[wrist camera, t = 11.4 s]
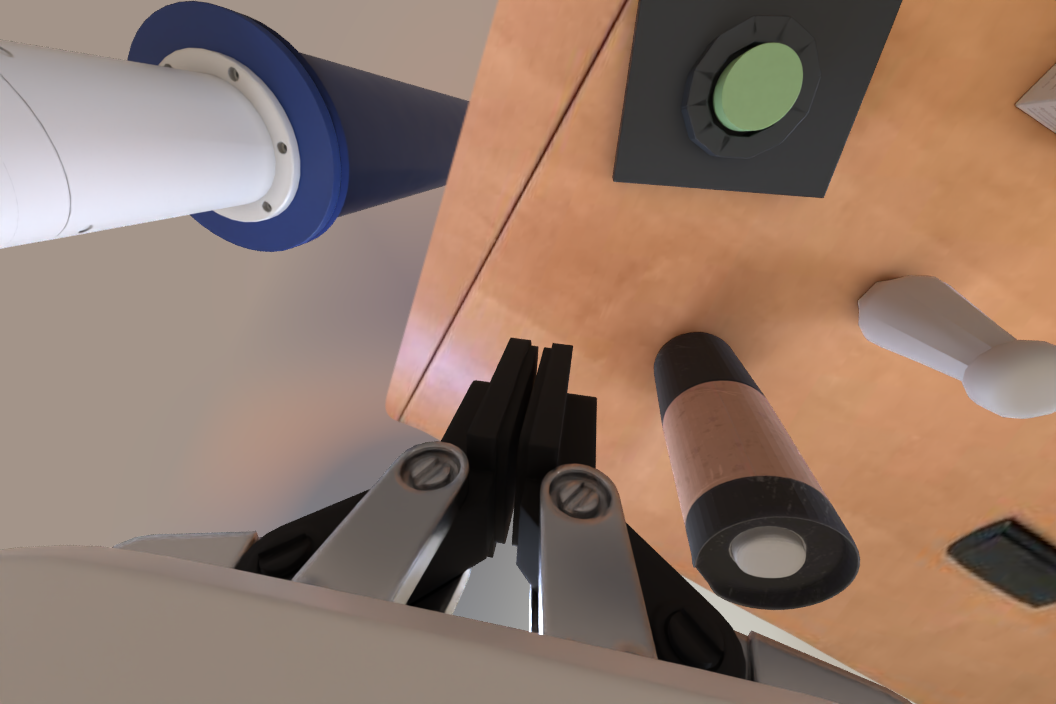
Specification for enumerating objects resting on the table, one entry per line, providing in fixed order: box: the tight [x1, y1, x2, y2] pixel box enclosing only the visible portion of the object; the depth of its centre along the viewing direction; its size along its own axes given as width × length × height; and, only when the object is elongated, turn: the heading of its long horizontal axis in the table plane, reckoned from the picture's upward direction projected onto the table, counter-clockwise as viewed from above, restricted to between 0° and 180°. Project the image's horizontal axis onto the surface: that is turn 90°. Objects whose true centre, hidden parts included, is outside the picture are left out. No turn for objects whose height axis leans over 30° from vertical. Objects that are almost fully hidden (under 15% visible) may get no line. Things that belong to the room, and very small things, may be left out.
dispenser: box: [612, 0, 902, 198], centre depth 25 cm, size 14×11×5 cm
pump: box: [713, 42, 803, 131], centre depth 22 cm, size 4×4×2 cm
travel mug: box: [654, 332, 860, 610], centre depth 28 cm, size 8×8×20 cm
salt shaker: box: [858, 276, 1056, 419], centre depth 26 cm, size 6×6×13 cm
